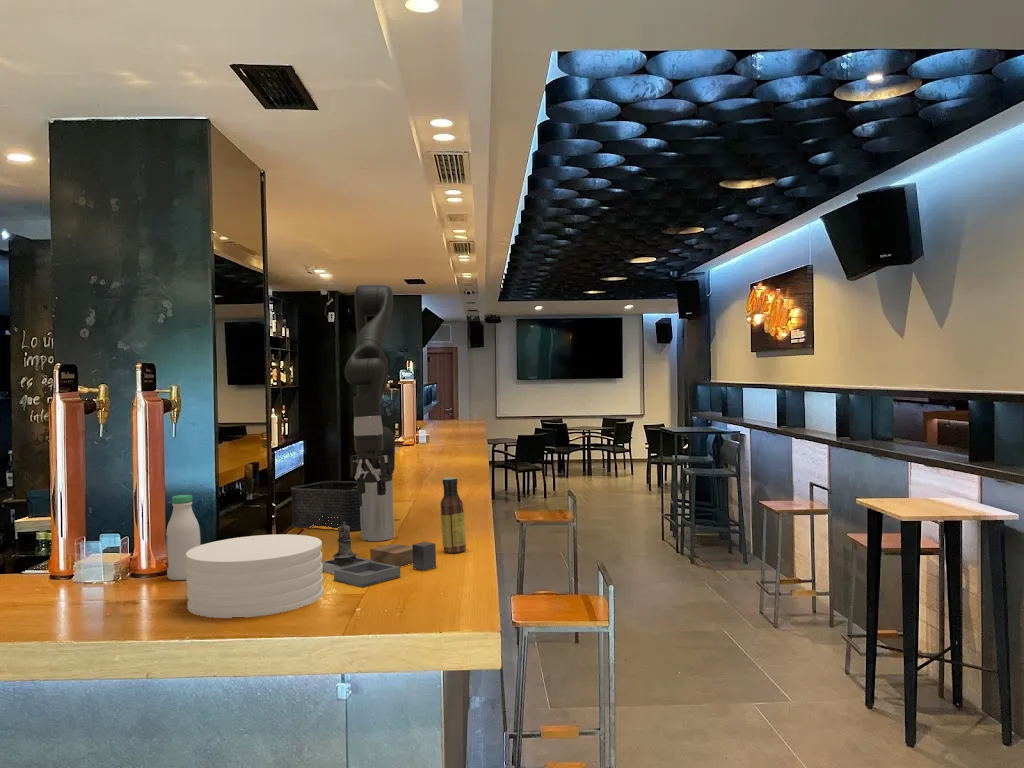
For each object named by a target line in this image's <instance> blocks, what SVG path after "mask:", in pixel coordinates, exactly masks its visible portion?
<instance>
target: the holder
mask: <svg viewBox="0 0 1024 768" xmlns="http://www.w3.org/2000/svg"><path fill="white" fill-rule="evenodd" d="M368 561H372V560H371V558H370V559H369V558H363V557H359V556H356V559H355V562H354V563H353V564H349V565H344V566H340V565H337V564H336V562H335V560H334V558H331V559H327V560H322V561H321V563H322V565H323V571H324V572H323V571H322V572H323V573H327V572H328V573H327V574H331V573H332V574H333V575H334V570H335V569H339V568H343V567H347V566H351V565H356V564H360V563H364V562H368Z"/></svg>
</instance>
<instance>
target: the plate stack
mask: <svg viewBox="0 0 1024 768" xmlns="http://www.w3.org/2000/svg"><path fill="white" fill-rule="evenodd" d="M322 549H323V541H322V540H321V539H320V538H318V537H316V536H310V535H303V534H281V533H279V534H261V535H260V534H259V535H249V536H240V537H233V538H226V539H221V540H216V541H211V542H207V543H203V544H200V546H197V547H194V548H192V549H190V550H189V551H188V552H187V553H186V561H187V562H188V564H187V565H186V572H187V574H188V576H187V580H186V586H187V587H188V588H187V589H186V596H187V605H186V606H187V610H188V611H189V612H190V613H191V614H194V615H196V616H199V615H200V617H204V616H205V618H212V617H213V618H214V619H233V618H232V617H245V618H254V617H255V618H256V617H264V616H270V615H276V614H279V613H280V612H281V613H285V612H289V611H293V610H297V609H300V607H301V608H304V607H306V606H308V604H309V605H311V604H314V603H315V602H317V601H318V600H320V599H321V598H322V597H323V596H322V595H324V586H323V583H324V576H323V574H322V573H323V565H322V563H321V562H322V561H323V552H322V551H321V550H322ZM319 598H320V599H319ZM316 600H317V601H316ZM305 605H306V606H305ZM303 606H304V607H303ZM275 613H276V614H275ZM281 613H280V614H281Z"/></svg>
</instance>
